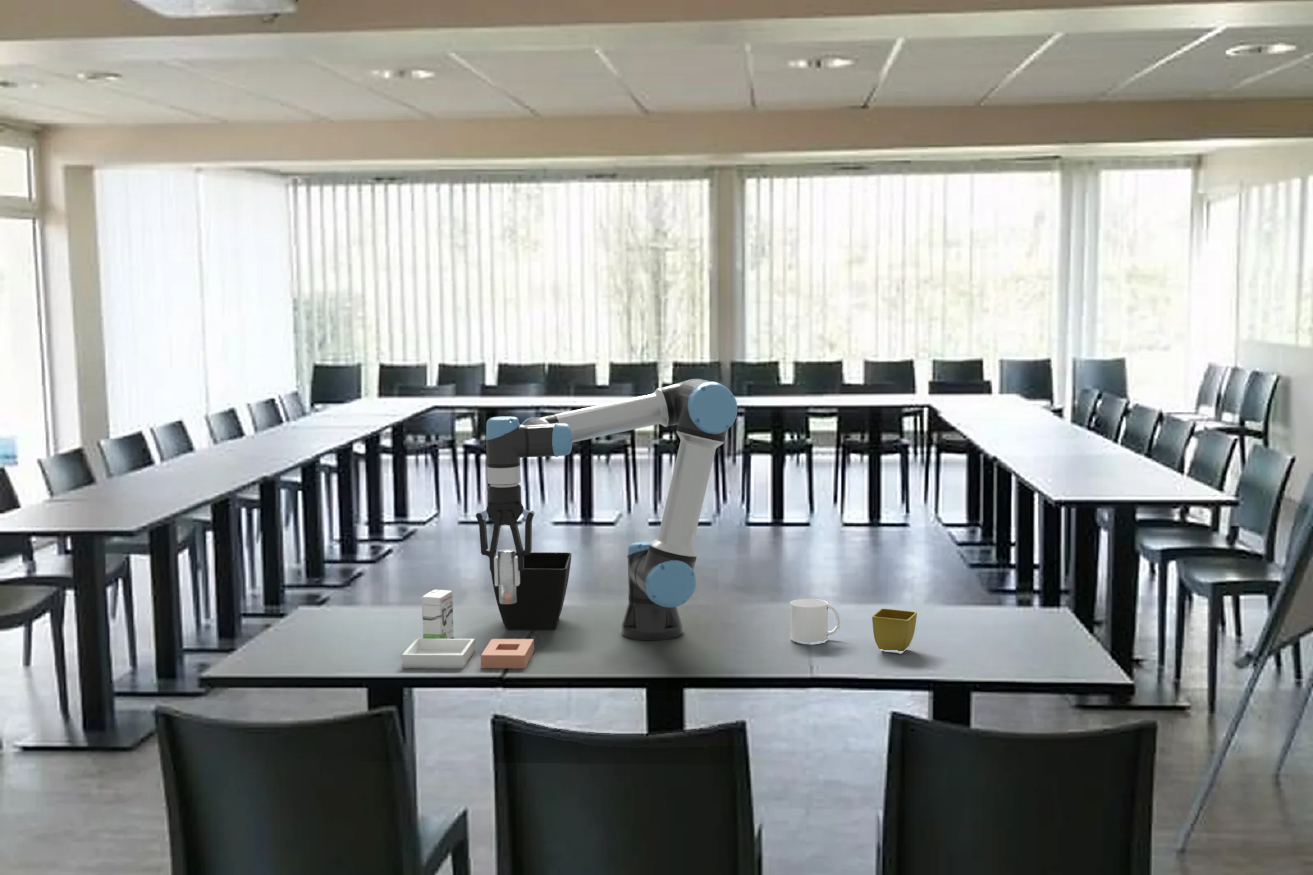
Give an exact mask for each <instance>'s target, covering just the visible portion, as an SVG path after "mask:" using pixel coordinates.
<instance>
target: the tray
mask: <svg viewBox="0 0 1313 875" xmlns="http://www.w3.org/2000/svg"><path fill="white" fill-rule="evenodd" d="M475 653H476V639H475V638H450V639H423V638H419V637H418V638H415V639H414V641H413V642H412V643H411V644H410V645H409V646H408V647H407V648H406V649H405V651H404V652H402V654H401V660H402V661H401V667H402V669H464V668H465V667H466V665H467V664H468V663H469V661H470V660H469V659H471V658H472V657H473V656H474V654H475ZM471 656H472V657H471ZM467 662H468V663H467ZM464 666H465V667H464Z"/></svg>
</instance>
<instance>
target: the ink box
mask: <svg viewBox="0 0 1313 875" xmlns="http://www.w3.org/2000/svg"><path fill="white" fill-rule="evenodd" d="M453 596H454V595H453V590H449V589H448V590H446V589H433V590H431V591H429V592H427V593H426V594H424V595H422V596H421V612H422V613H421V614H422V639H452V638H453V637H454V605H453V604H454V601H453V600H454V598H453Z"/></svg>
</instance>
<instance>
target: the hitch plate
mask: <svg viewBox="0 0 1313 875" xmlns="http://www.w3.org/2000/svg"><path fill="white" fill-rule="evenodd" d="M534 640H535V639H534V638H491V639H490V641H489V642H488V644H487V646H486V647H485V648H484V649H483V652H482V653H481V655H480V668H481V667H484V668H483V669H526V667H527V665H528V663H529V662H530V660H531V658H532V657H533V654H534V652H535V641H534Z"/></svg>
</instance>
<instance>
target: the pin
mask: <svg viewBox="0 0 1313 875" xmlns="http://www.w3.org/2000/svg"><path fill="white" fill-rule="evenodd" d="M515 552H516V549H510V548H509V549H508V548H506V549H499V550H498V551H497V556H498V576H499V603H500V604H514V603H516V602H517V594H516V586H515V570H514V558H515Z"/></svg>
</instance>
